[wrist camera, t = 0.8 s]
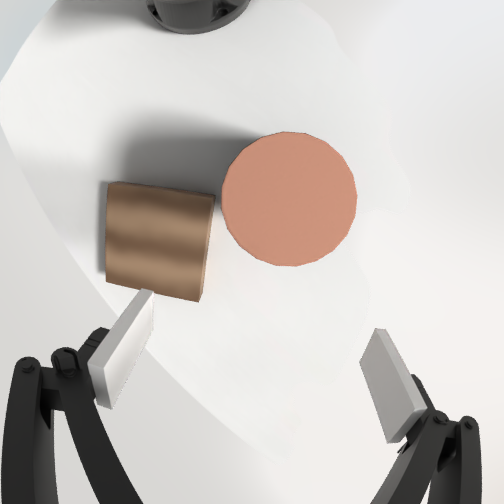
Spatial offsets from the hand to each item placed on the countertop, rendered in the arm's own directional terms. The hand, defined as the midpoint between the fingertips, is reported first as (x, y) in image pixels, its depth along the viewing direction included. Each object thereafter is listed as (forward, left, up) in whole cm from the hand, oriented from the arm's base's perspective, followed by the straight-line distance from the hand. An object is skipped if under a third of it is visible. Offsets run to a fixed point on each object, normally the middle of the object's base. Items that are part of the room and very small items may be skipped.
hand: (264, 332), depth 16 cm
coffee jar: (-6, +1, -26) cm, 27 cm away
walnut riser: (+5, -15, -26) cm, 30 cm away
